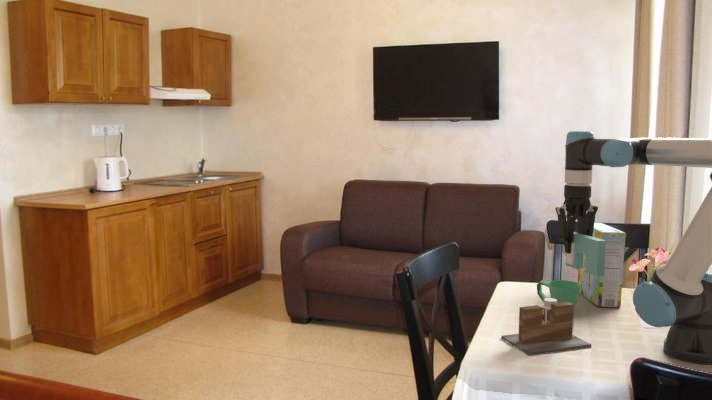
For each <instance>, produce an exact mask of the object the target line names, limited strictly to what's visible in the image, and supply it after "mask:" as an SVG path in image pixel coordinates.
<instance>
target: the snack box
mask: <svg viewBox="0 0 712 400" xmlns="http://www.w3.org/2000/svg"><path fill="white" fill-rule="evenodd" d="M626 236H627V233H626V232H624V231H622V230H620V229H617V228H614V227H613V226H610V225H607V224H606V223H602V222H594V229H593V236H592V237H595V238H599V239H602V240H606V249H605V269H604V276H594V275H592V274H589V273H586V255H584V258H583V268H580V269H578V270H577V271H578V273H577V284H578V286H579V284H580V285H581V288H580V292H579V294H580V295H582V296H583V297H584V298H586V299H587V300H589V301H590V302H591V303H593V304H594V305H595V306H596V307H598V308H621V306H622V291H623V287H622V286H623V278H624V277H623V276H624V262H625V249H626V238H627V237H626Z"/></svg>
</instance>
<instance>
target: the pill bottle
mask: <svg viewBox="0 0 712 400" xmlns="http://www.w3.org/2000/svg"><path fill="white" fill-rule="evenodd" d="M542 302H543V304H542V305H541V307H542V322H544V321H550V317H551V304H553V303H557V299H554V298H551V297H546V298H545V299H544V301H542Z"/></svg>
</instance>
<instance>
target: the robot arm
mask: <svg viewBox="0 0 712 400" xmlns="http://www.w3.org/2000/svg"><path fill="white" fill-rule="evenodd" d="M594 135H595V134H594V132H593V131H588V130H587V131H586V130H585V131H584V130H583V131H582V130H580V131H579V130H576V131H569V132H567V133H566V138H565V145H564V146H565V163H564V164H565V167H564V183H565V185H563V197H564V202H563V204H562V205H561V206H560V207H558V206H556V207H555V213H556V215H557V228H558V239H559V240H561V241H563V242H564V253H565V264H566V263H568V264H570V265H574V251H575V243H573V242H572V241H573V235H574V232H575V228H576V223H577V233H580V234H584V235H587V236H591V237H592V236H593V229H594V223H596V222H595V221H596V215H597V212H598V211H599V210H598V209H599V206H597V205H593V204H592V202H591V197H592V185H591V184H592V183H593V182H592V181H593V166H601V167H610V168H624V167H627V166H633V165H634V166H635V165H636V166H637V165H641V166H667V167H687V168H705V169H706V168H707V169H712V138H709V137H708V138H704V137H703V138H696V137H695V138H694V137H691V138H690V137H689V138H688V137H687V138H686V137H685V138H684V137H683V138H680V137H677V138H676V137H673V138H672V137H666V138H664V137H663V138H662V137H658V138H657V137H655V138H652V137H635V138H634V137H633V138H595V136H594ZM709 178H710V181H711V183H712V172H711V173H710V174H709ZM576 221H577V222H576ZM583 258H584V255H583ZM711 266H712V186H711V187H710V189H709V190H708V192H707V194H706V196H705V197H704V199H703V201H702V203H701V204H700V206H699V207H698V209H697V211H696V213H695V214H694V216H693V217H692V219H691V221H690V223H689V224H688V226H687V227H686V230H685V231H684V233H683V235H682V237H681V238H680V240H679V242H678V243H677V245H676V246H675V249H674V250H673V252H672V254H671V255H670V257H669V259H668V260H667V262H666V263H662V264H659V265H658V266H657V267H656V268H655V270H654V272H653V273H652V275H651V277H650V278H649V280H647V281H643V282H641V283H640V284H638V285H637V286H636V287H635V289H634V290H633V292H632V293H633V294H632V302H633V303H632V304H633V305H634V309H635V312H636V314H637V315H638V316H639V318H640V319H641V320H642V321H643V322H644V323H646V324H647V325H649V326H651V327H654V328H663V327H664V328H667V327H668V328H669V329H668V331H667V335H666V337H665V338H664V340H663V351H664V352H665V353H666V354H668V355H669V356H671V357H673V358H675V359H678V360H681V361H685V362H689V363H695V364H703V365H705V364H707V365H712V270H709V269H710V267H711Z"/></svg>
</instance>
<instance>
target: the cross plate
mask: <svg viewBox="0 0 712 400" xmlns="http://www.w3.org/2000/svg"><path fill="white" fill-rule="evenodd" d="M572 242H573V243H575V251H574V265H570V264H568V263H566V262H565V266H567V267H570V268H571V269H572V268H573V269H574V270H577V269H580V268H583V255H586V273H589V274H592V275H594V276H604V269H605V249H606V240H602V239H599V238H595V237H591V236H587V235H584V234H580V233H578V232H576V231H574V235H573V241H572Z"/></svg>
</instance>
